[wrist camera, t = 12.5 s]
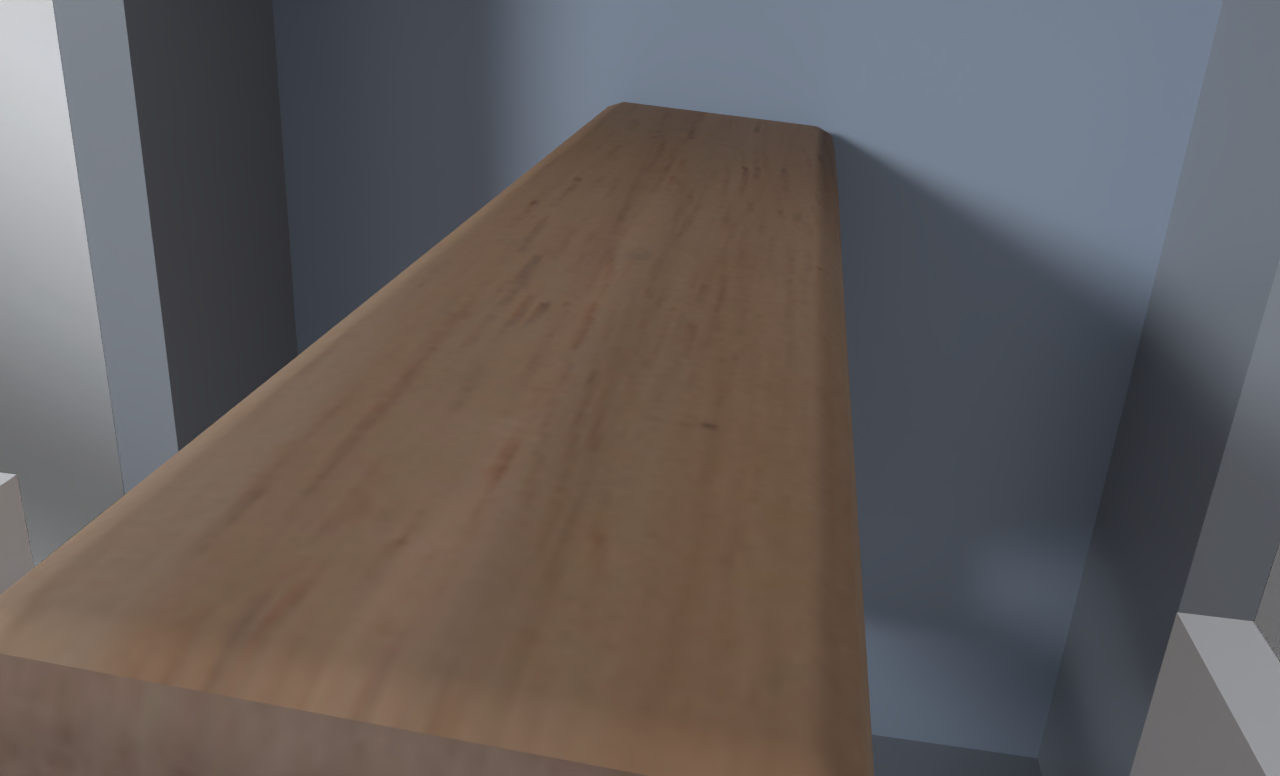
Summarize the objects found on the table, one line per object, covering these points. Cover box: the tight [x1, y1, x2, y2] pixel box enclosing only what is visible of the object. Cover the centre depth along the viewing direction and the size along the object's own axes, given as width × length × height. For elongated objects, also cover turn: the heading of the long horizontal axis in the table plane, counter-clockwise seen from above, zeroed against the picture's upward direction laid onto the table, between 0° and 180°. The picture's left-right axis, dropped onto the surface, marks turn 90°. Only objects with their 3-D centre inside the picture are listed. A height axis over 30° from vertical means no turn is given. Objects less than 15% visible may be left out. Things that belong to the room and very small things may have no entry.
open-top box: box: [52, 0, 1280, 776], centre depth 21 cm, size 20×22×6 cm
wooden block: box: [0, 102, 874, 776], centre depth 15 cm, size 9×4×18 cm, turn 174°
